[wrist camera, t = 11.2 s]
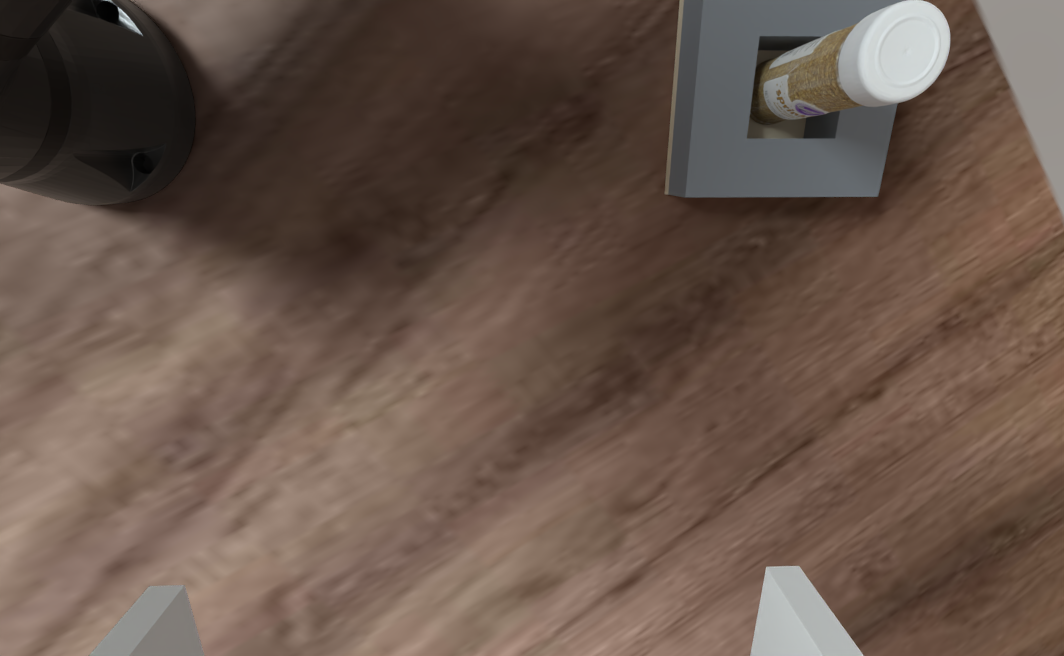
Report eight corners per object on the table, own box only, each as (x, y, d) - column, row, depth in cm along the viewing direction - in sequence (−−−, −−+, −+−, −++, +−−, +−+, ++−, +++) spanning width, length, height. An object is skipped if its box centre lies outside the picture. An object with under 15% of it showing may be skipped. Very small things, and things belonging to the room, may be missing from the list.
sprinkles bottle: (734, 123, 37) (850, 98, 24) (746, 55, 36) (876, -8, 23) (793, 127, 37) (938, 106, 25) (807, 60, 36) (969, 0, 23)
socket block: (664, 194, 40) (685, 197, 35) (680, -9, 35) (706, -36, 30) (834, 193, 40) (878, 196, 35) (870, -7, 36) (925, -33, 31)
